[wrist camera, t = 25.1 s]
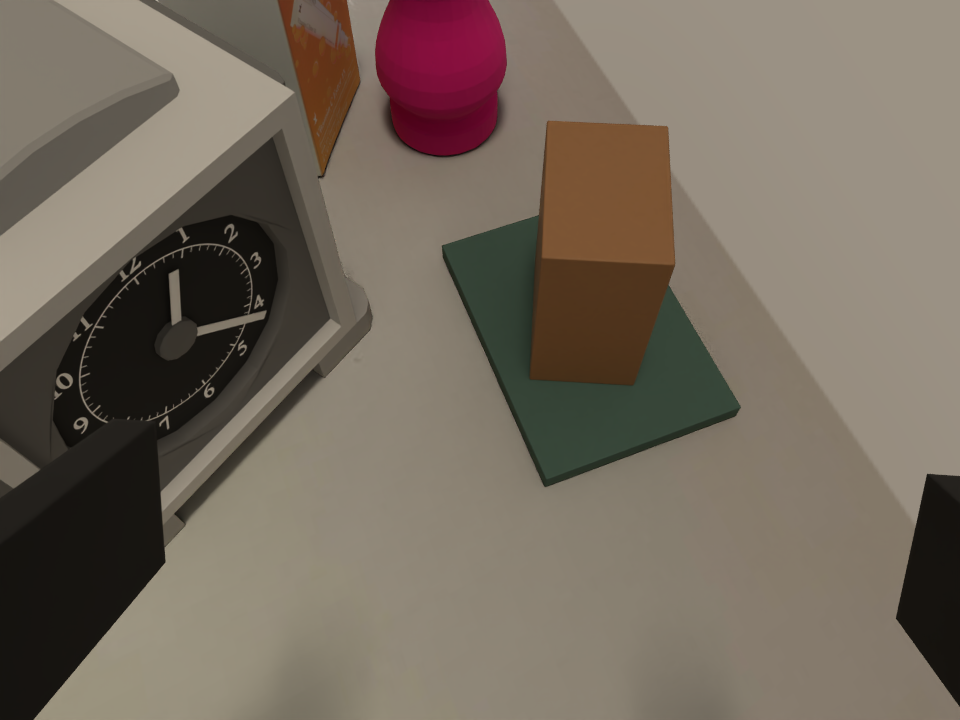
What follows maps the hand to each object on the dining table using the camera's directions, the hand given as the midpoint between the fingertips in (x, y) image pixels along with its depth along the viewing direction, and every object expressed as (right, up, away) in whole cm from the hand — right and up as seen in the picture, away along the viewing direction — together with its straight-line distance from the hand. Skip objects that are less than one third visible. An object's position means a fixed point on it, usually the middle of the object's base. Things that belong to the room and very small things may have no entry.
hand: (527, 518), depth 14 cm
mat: (+4, +4, +28) cm, 29 cm away
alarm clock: (-17, +2, +27) cm, 32 cm away
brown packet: (+4, +5, +27) cm, 28 cm away
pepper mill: (-3, +17, +35) cm, 39 cm away
